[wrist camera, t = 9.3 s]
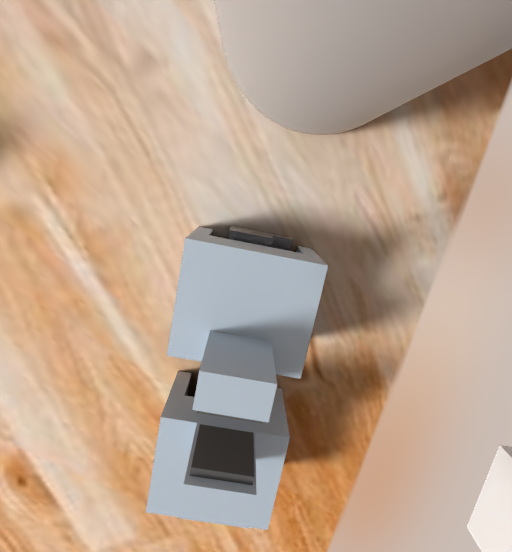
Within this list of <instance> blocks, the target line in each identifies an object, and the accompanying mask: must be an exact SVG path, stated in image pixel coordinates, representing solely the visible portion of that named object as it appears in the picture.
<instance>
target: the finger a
mask: <svg viewBox="0 0 512 552" xmlns="http://www.w3.org/2000/svg"><path fill="white" fill-rule="evenodd" d="M190 378H191V373H188V372H182V371H178V373H177V375H176V378H175V381H174V383H173V386H172V389H171V391H170V394H169V397H168V399H167V402H166V405H165V407H164V410H163V413H162V415H161V419H160V426H159V432H158V438H157V445H156V451H155V458H154V464H153V470H152V477H151V483H150V490H149V496H148V502H147V509H146V512H148V513H154V514H161V515H168V516H175V517H178V518H181V519H188V520H195V521H202V522H209V523H215V524H222V525H229V526H236V527H243V528H249V527H251V528H258V529H264V530H268V526H269V522H270V518H271V514H272V510H273V506H274V502H275V497H276V493H277V489H278V485H279V481H280V477H281V473H282V469H283V465H284V460H285V456H286V452H287V448H288V444H289V440H290V435H289V428H288V422H287V416H286V410H285V404H284V398H283V391H282V388H276V392H275V397H274V401H273V405H272V410H271V414H270V418H269V423H268V422H262V424H261V423H255V422H249V421H243V420H237V419H231V418H225V417H219V416H213V415H207V414H201V413H197V411H196V410H192V409H193V403H194V397H191V396H188V390H189V384H190Z"/></svg>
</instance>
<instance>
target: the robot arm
mask: <svg viewBox="0 0 512 552" xmlns="http://www.w3.org/2000/svg"><path fill="white" fill-rule="evenodd" d="M467 528H468V530H469V532H470V533H471V535H472V536H473V538H474V540H475V542H476V543H477V545H478V546H479V548H480V549H481V551H482V552H512V447H508V446H502V445H500V446H499V448H498V451H497V453H496V456H495V458H494V461H493V463H492V466H491V468H490V471H489V473H488V476H487V478H486V481H485V483H484V486H483V488H482V491H481V493H480V496H479V498H478V501H477V503H476V506H475V508H474V510H473V513H472V516H471V518H470V521H469V523H468V525H467Z"/></svg>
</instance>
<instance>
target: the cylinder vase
mask: <svg viewBox="0 0 512 552" xmlns="http://www.w3.org/2000/svg"><path fill="white" fill-rule="evenodd" d="M214 2H215V7H216V12H217V18H218V23H219V28H220V33H221V39H222V44H223V49H224V53H225V57H226V60H227V63H228V66H229V69H230V71H231V73H232V76H233V78H234V80H235V81H236V83H237V85H238V87H239V88H240V90H241V91H242V93H243V94H244V95H245V97H246V98H247V99H248V100H249V102H250V103H251V104H252V105H253V106H254V107H255V108H256V109H257V110H258V111H260V112H261V113H262V114H263V115H264V116H266V117H267V118H269V119H270V120H272V121H273V122H275V123H277V124H279V125H281V126H283V127H285V128H288V129H290V130H293V131H297V132H301V133H306V134H314V135H327V134H336V133H341V132H345V131H349V130H352V129H355V128H357V127H359V126H362V125H364V124H366V123H368V122H370V121H372V120H374V119H376V118H378V117H379V116H381V115H383V114H385V113H387V112H389V111H391V110H393V109H395V108H397V107H399V106H401V105H403V104H405V103H407V102H409V101H411V100H413V99H415V98H417V97H418V96H420V95H422V94H424V93H426V92H428V91H430V90H432V89H434V88H436V87H438V86H440V85H442V84H444V83H446V82H448V81H450V80H452V79H454V78H456V77H457V76H459V75H461V74H463V73H465V72H467V71H469V70H471V69H473V68H475V67H477V66H479V65H481V64H483V63H485V62H487V61H489V60H491V59H493V58H495V57H496V56H498V55H500V54H502V53H504V52H506V51H508V50H510V49H512V0H214Z"/></svg>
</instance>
